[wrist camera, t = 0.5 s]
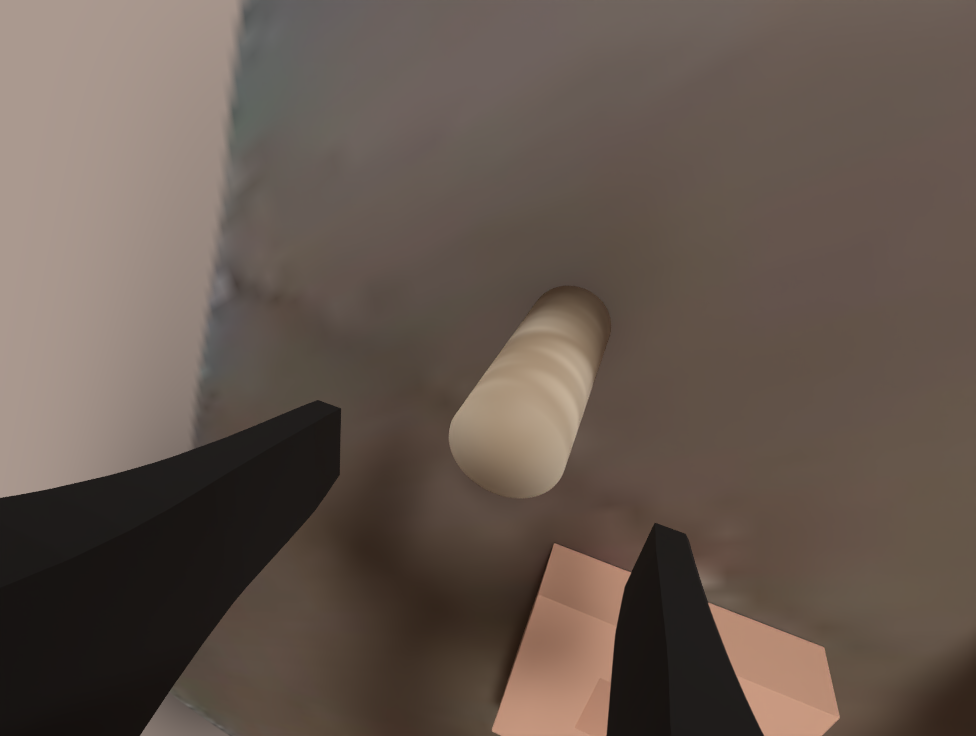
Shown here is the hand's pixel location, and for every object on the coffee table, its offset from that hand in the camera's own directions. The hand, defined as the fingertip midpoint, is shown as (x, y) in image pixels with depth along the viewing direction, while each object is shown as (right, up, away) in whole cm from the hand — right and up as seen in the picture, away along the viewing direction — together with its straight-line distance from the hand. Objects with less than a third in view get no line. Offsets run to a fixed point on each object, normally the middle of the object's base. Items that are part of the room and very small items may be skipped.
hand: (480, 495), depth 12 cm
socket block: (+8, -12, +15) cm, 21 cm away
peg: (+3, +4, +8) cm, 10 cm away
